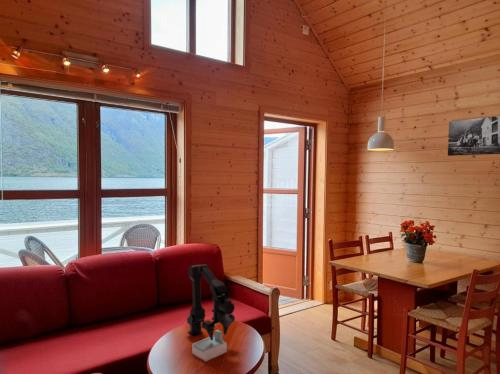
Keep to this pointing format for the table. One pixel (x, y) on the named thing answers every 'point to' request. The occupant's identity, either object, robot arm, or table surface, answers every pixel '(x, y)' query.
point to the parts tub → (209, 351)
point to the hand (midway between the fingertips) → (218, 337)
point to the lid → (210, 342)
